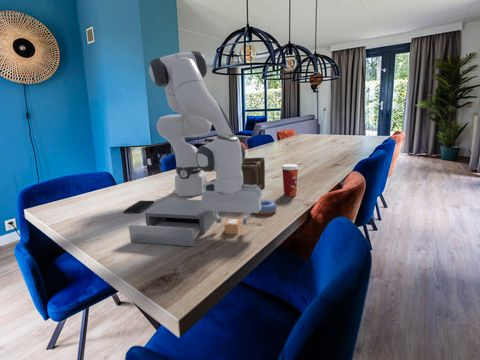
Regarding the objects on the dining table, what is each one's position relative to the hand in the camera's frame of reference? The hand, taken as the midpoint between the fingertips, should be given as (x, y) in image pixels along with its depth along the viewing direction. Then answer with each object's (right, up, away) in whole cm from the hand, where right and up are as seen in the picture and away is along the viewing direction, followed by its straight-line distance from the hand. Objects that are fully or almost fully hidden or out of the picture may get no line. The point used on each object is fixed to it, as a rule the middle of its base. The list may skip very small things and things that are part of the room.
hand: (232, 223), depth 100 cm
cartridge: (0, -3, +1) cm, 3 cm away
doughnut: (+12, +2, +18) cm, 22 cm away
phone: (-42, +2, +30) cm, 51 cm away
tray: (-21, -4, 0) cm, 21 cm away
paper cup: (+26, +8, +38) cm, 47 cm away
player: (-18, -1, +10) cm, 21 cm away
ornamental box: (+7, +8, +45) cm, 47 cm away
